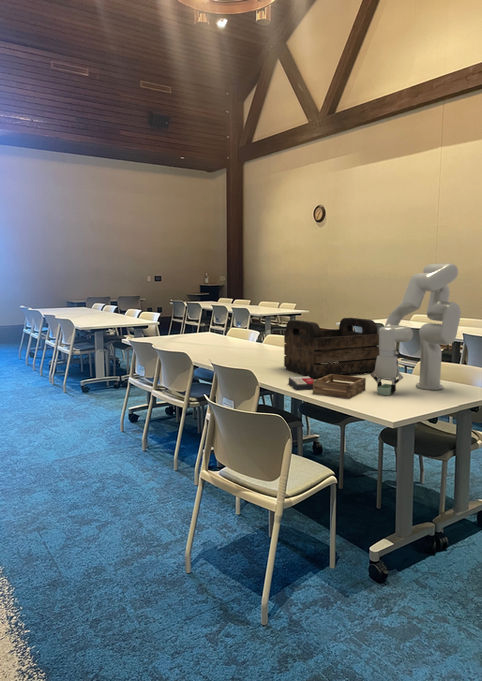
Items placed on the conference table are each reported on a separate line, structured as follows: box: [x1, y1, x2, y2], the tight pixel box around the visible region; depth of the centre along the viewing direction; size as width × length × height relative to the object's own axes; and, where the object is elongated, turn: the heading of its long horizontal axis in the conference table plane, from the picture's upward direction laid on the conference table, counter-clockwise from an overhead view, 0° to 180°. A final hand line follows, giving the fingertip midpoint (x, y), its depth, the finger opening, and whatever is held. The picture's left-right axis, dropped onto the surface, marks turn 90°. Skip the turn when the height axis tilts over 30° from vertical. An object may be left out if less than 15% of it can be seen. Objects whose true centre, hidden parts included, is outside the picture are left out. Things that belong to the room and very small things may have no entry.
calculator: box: [288, 376, 315, 391], centre depth 238 cm, size 11×4×15 cm
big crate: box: [312, 374, 367, 400], centre depth 226 cm, size 20×18×6 cm
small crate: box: [376, 383, 393, 397], centre depth 223 cm, size 10×5×3 cm, turn 145°
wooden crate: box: [283, 317, 379, 380], centre depth 276 cm, size 42×34×30 cm
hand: (386, 391), depth 223 cm, fingers closed on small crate, 5 cm apart
